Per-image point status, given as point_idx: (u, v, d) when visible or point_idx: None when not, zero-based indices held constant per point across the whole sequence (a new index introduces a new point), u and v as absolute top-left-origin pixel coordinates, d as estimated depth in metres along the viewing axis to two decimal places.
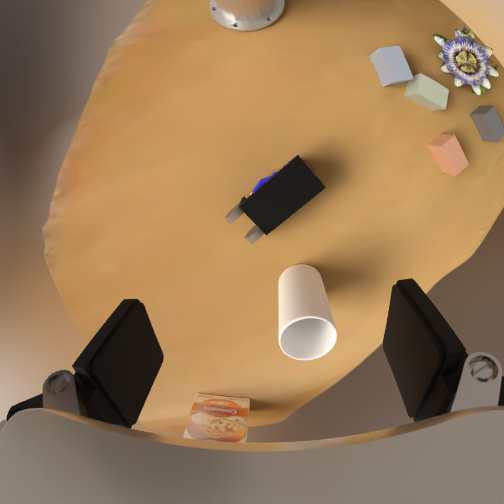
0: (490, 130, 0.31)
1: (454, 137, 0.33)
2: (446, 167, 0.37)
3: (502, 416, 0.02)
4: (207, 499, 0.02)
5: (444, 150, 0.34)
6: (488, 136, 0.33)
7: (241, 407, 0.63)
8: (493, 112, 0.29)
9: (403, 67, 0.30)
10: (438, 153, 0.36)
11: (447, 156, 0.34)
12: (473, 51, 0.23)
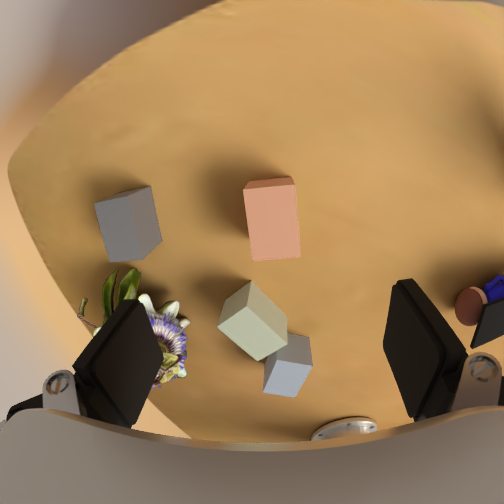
0: (136, 221, 0.23)
1: (256, 257, 0.23)
2: None
3: (502, 416, 0.02)
4: (207, 499, 0.02)
5: (296, 246, 0.22)
6: (141, 202, 0.24)
7: None
8: (117, 253, 0.24)
9: (281, 374, 0.28)
10: None
11: (297, 233, 0.22)
12: None
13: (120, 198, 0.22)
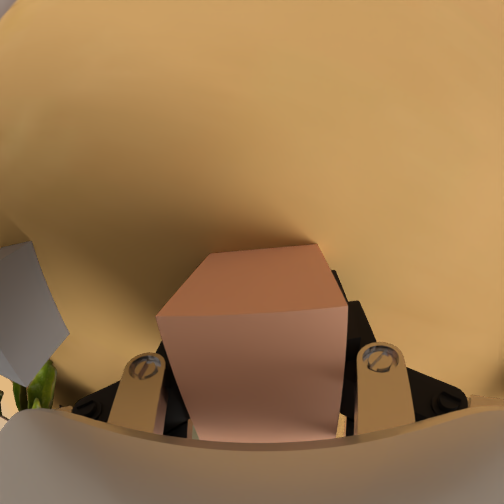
0: None
1: None
2: None
3: (502, 416, 0.02)
4: (207, 499, 0.02)
5: None
6: (6, 282, 0.09)
7: None
8: None
9: None
10: None
11: (332, 429, 0.06)
12: None
13: None
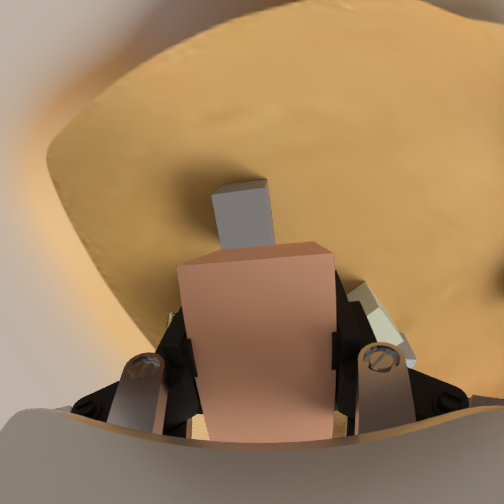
0: (269, 219, 0.21)
1: (218, 435, 0.07)
2: None
3: (502, 416, 0.02)
4: (207, 499, 0.02)
5: (325, 418, 0.07)
6: None
7: None
8: None
9: None
10: None
11: (330, 391, 0.07)
12: None
13: (254, 190, 0.19)
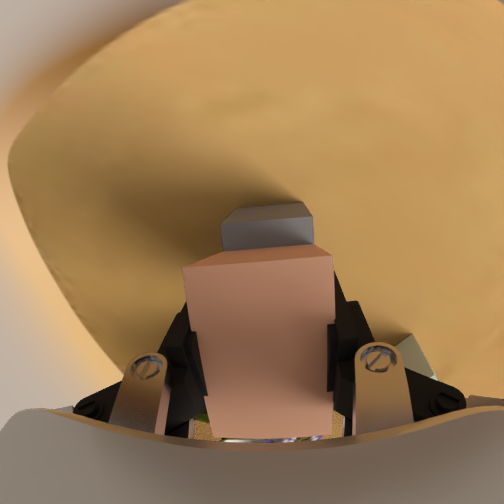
0: None
1: (221, 431, 0.08)
2: None
3: (502, 416, 0.02)
4: (207, 499, 0.02)
5: (324, 414, 0.07)
6: None
7: None
8: None
9: None
10: None
11: None
12: None
13: (293, 219, 0.12)
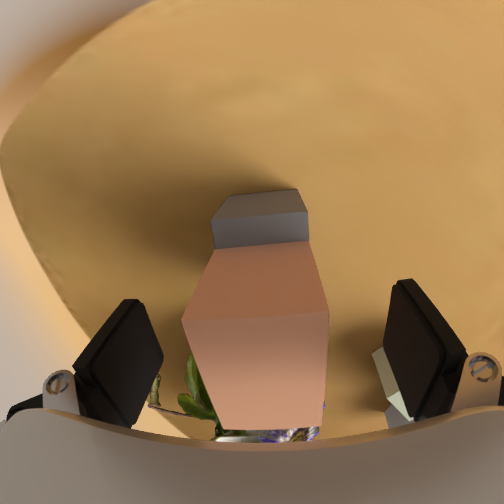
0: None
1: (229, 425, 0.09)
2: None
3: (502, 416, 0.02)
4: (207, 499, 0.02)
5: (315, 414, 0.09)
6: None
7: None
8: None
9: None
10: None
11: (320, 399, 0.08)
12: None
13: (287, 215, 0.11)
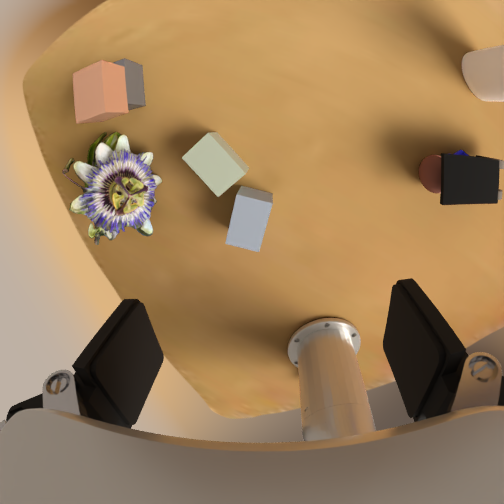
0: (127, 77, 0.24)
1: (78, 119, 0.21)
2: (112, 74, 0.21)
3: (502, 416, 0.02)
4: (207, 499, 0.02)
5: (102, 103, 0.21)
6: (133, 69, 0.25)
7: None
8: None
9: (242, 215, 0.30)
10: (115, 98, 0.23)
11: (102, 94, 0.20)
12: (104, 207, 0.27)
13: (118, 61, 0.23)
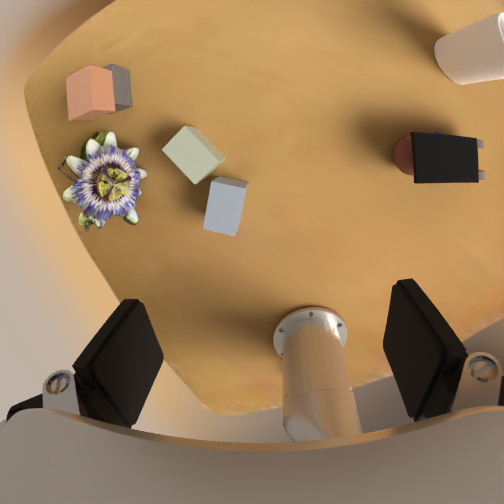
0: (115, 80, 0.27)
1: (70, 117, 0.24)
2: (100, 77, 0.24)
3: (502, 416, 0.02)
4: (207, 499, 0.02)
5: (90, 102, 0.23)
6: (120, 73, 0.28)
7: None
8: None
9: (217, 200, 0.32)
10: (103, 98, 0.25)
11: (90, 93, 0.23)
12: (92, 196, 0.29)
13: (107, 66, 0.25)
